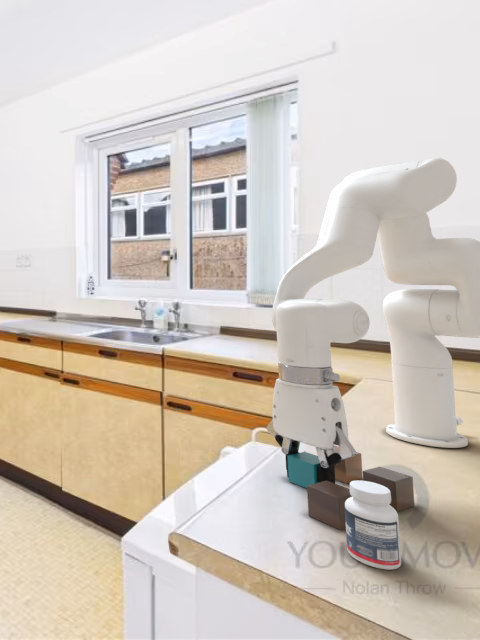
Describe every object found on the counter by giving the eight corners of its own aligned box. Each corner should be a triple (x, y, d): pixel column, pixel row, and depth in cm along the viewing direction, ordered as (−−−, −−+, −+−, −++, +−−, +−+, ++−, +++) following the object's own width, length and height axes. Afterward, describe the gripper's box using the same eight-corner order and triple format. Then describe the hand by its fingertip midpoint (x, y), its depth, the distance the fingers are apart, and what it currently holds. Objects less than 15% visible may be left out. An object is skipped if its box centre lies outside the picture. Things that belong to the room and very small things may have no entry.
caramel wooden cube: (335, 469, 87) (334, 445, 87) (362, 479, 83) (361, 453, 83) (319, 473, 85) (318, 448, 86) (346, 483, 81) (344, 457, 81)
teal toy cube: (305, 476, 84) (304, 451, 84) (332, 487, 80) (331, 460, 80) (288, 481, 82) (287, 455, 83) (315, 491, 78) (313, 464, 79)
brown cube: (327, 509, 73) (326, 480, 73) (360, 523, 68) (358, 492, 69) (308, 515, 71) (306, 485, 71) (340, 530, 67) (338, 498, 67)
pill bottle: (350, 541, 64) (347, 474, 64) (403, 557, 60) (399, 486, 61) (343, 558, 60) (339, 486, 61) (398, 576, 57) (394, 500, 57)
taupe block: (381, 494, 77) (379, 466, 77) (414, 506, 73) (413, 476, 73) (363, 499, 76) (362, 470, 76) (397, 511, 72) (395, 481, 72)
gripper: (375, 382, 75) (381, 500, 75) (273, 364, 91) (277, 462, 90) (344, 387, 73) (350, 510, 72) (244, 368, 88) (249, 468, 88)
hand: (310, 482), depth 81 cm, fingers closed on teal toy cube, 4 cm apart
